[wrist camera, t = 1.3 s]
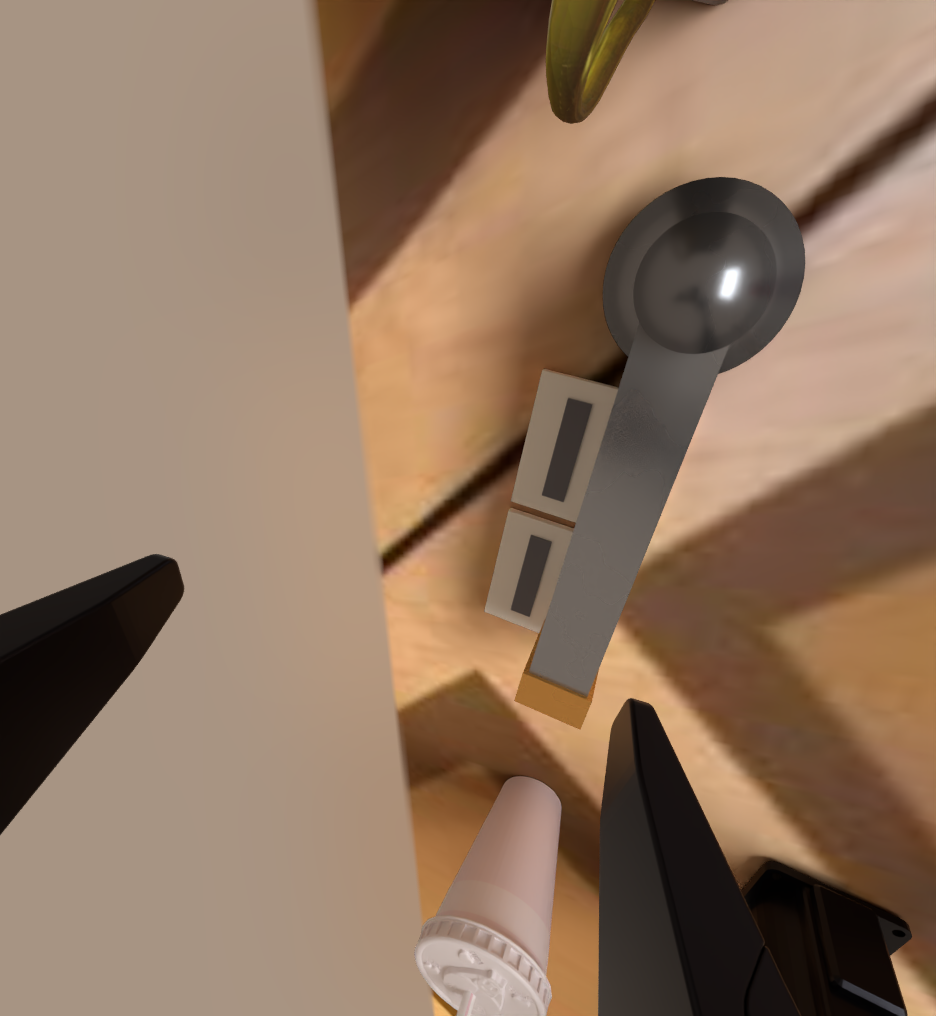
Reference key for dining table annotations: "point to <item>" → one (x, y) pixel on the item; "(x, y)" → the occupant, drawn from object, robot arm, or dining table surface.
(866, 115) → the dining table surface
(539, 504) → the label
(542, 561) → the label
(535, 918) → the smoothie
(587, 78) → the ceramic cup
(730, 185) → the pivot base
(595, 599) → the swing arm
